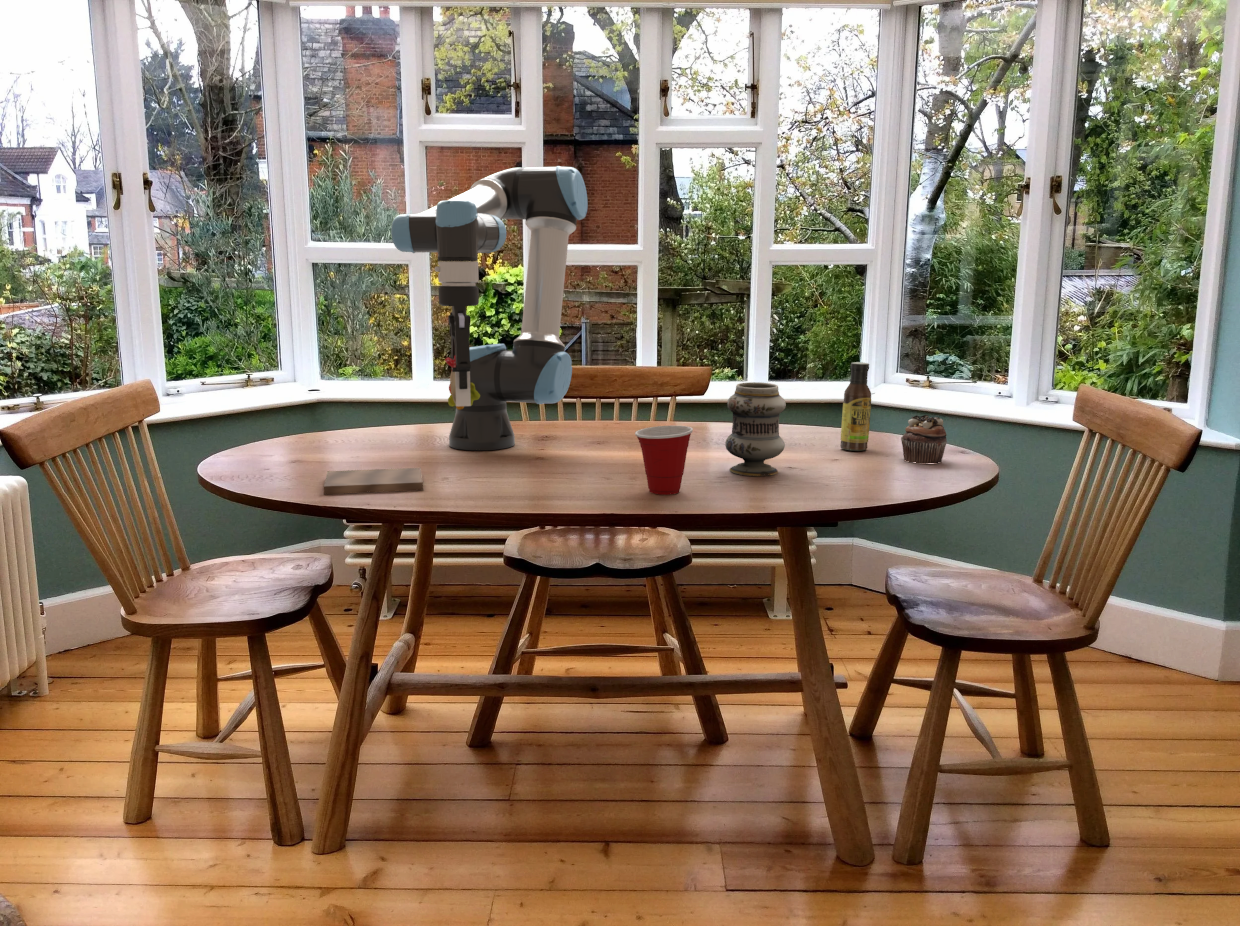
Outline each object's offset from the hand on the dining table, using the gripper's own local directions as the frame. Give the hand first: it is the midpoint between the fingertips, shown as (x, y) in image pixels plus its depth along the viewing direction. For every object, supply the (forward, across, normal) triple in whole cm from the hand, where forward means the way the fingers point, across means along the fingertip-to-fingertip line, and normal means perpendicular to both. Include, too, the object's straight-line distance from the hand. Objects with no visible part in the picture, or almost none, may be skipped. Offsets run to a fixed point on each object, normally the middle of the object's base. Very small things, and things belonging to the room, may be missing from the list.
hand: (461, 402), depth 201 cm
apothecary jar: (+16, +3, +59) cm, 61 cm away
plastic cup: (+16, +17, +36) cm, 43 cm away
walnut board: (+15, 0, -17) cm, 23 cm away
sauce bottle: (+16, -16, +90) cm, 93 cm away
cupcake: (+16, -1, +99) cm, 100 cm away
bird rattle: (+1, 0, 0) cm, 1 cm away
